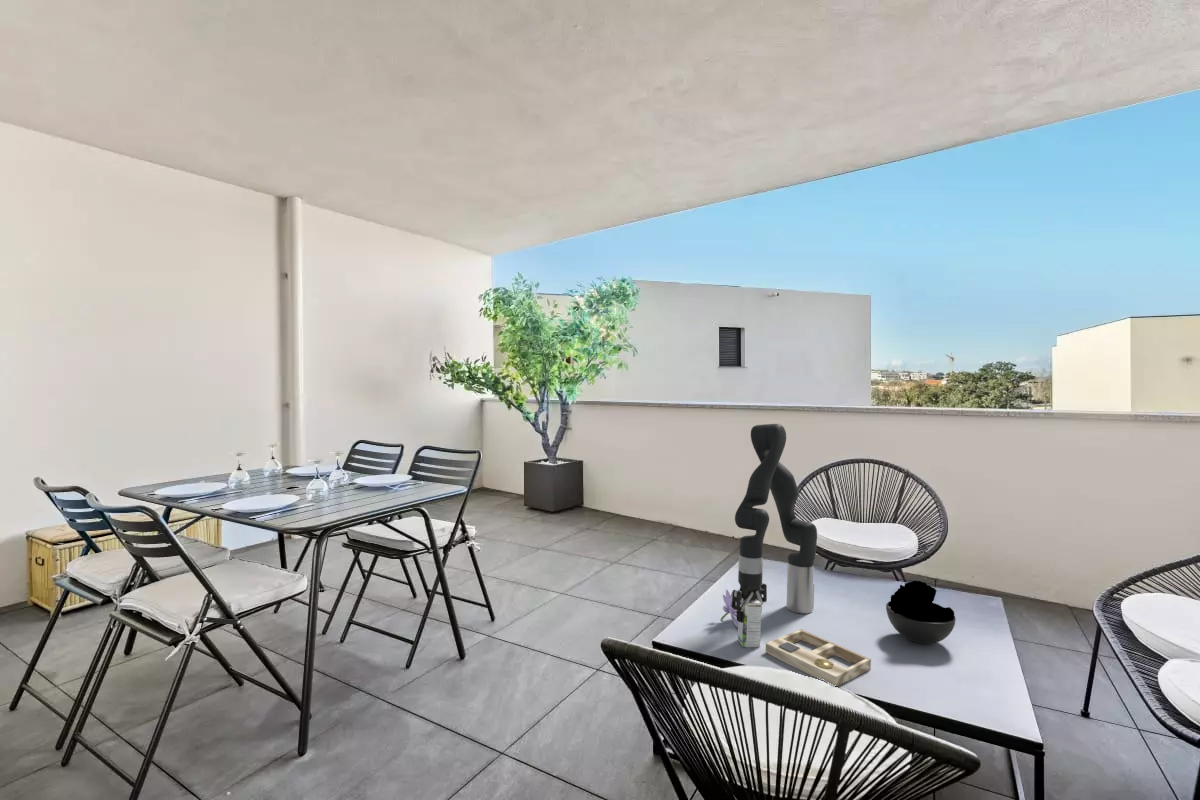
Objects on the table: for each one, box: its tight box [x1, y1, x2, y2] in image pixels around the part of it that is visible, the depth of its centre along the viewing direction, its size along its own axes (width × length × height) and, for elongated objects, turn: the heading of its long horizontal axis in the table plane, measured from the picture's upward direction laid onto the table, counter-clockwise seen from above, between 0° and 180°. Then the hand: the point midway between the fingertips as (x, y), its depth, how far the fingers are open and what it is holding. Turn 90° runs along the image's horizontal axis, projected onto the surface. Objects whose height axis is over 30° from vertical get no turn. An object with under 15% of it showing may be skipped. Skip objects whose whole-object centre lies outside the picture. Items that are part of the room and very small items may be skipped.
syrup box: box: [737, 598, 763, 648], centre depth 182 cm, size 6×6×14 cm
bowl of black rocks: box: [885, 580, 957, 645], centre depth 186 cm, size 20×20×19 cm
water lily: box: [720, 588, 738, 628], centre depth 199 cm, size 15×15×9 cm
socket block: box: [765, 628, 872, 687], centre depth 172 cm, size 18×24×3 cm
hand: (749, 618), depth 182 cm, fingers open, 8 cm apart
